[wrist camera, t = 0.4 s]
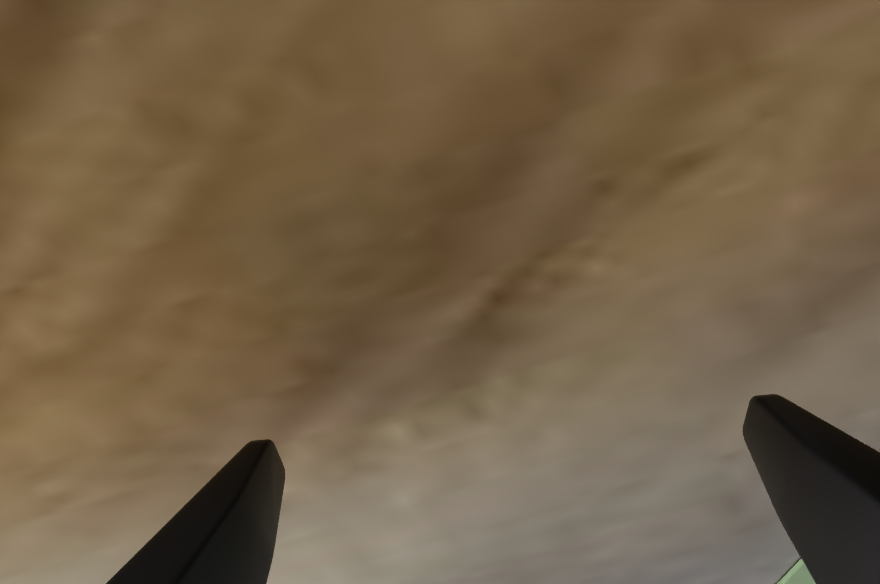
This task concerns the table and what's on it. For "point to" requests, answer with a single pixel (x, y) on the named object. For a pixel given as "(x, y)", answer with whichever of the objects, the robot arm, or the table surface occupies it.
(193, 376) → the table surface
